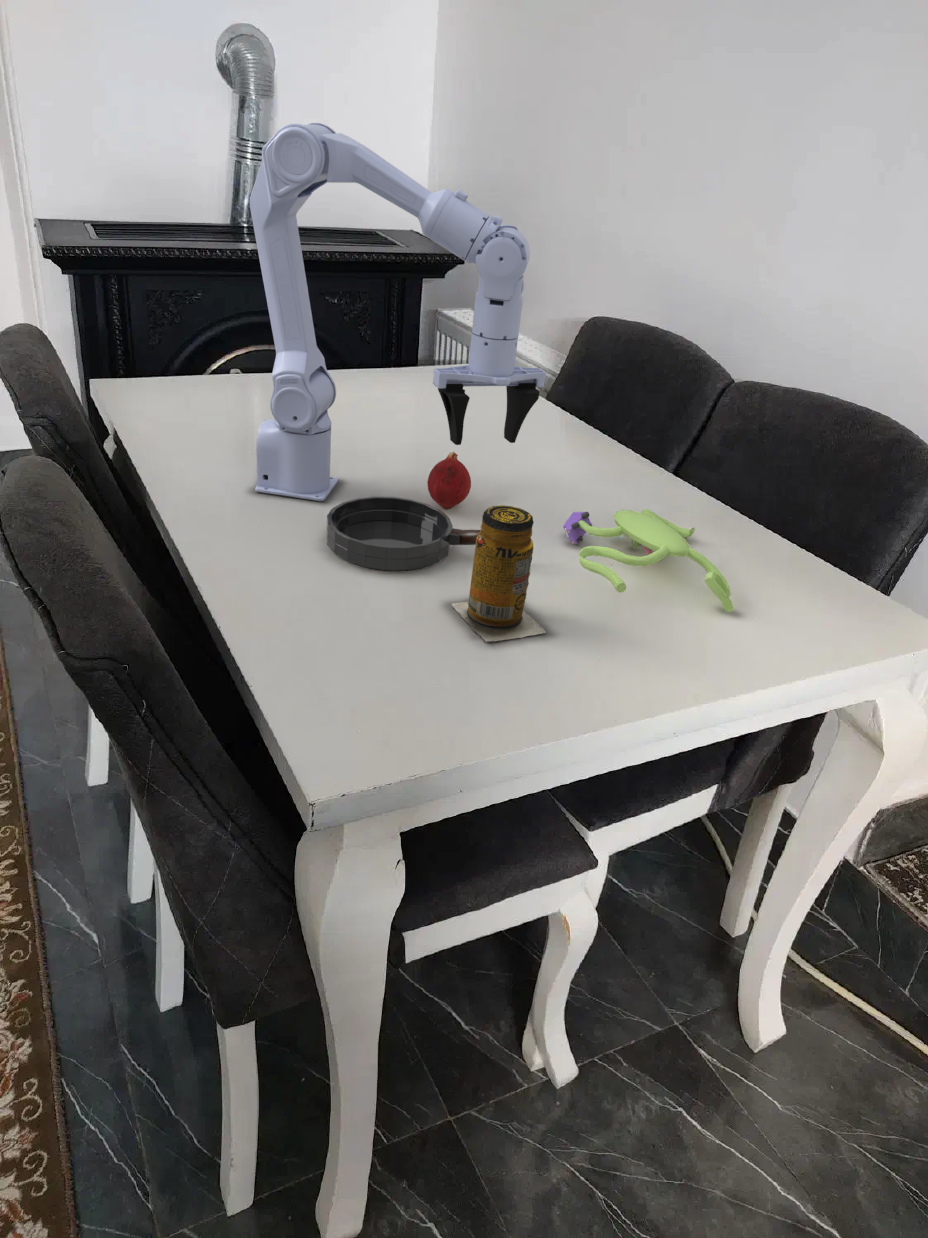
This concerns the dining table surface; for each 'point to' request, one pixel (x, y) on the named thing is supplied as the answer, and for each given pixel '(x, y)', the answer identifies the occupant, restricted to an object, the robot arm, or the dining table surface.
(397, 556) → the pan
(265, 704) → the dining table surface
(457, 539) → the pan handle
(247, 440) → the dining table surface
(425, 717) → the dining table surface
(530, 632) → the condiment
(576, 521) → the figurine
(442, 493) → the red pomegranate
